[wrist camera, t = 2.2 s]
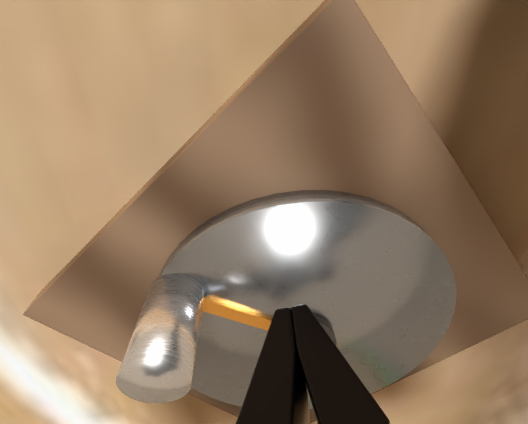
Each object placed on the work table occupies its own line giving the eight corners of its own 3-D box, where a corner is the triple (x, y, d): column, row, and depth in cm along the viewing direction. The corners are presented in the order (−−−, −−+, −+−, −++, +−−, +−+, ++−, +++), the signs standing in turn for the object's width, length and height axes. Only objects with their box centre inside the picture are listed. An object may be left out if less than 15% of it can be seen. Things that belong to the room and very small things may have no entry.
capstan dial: (510, 263, 15) (615, 359, 11) (336, 412, 22) (358, 507, 17) (221, 123, 11) (204, 187, 7) (115, 360, 17) (73, 469, 13)
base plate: (334, -9, 10) (347, -15, 9) (526, 290, 19) (550, 312, 17) (39, 292, 17) (20, 317, 15) (278, 416, 25) (280, 440, 24)
